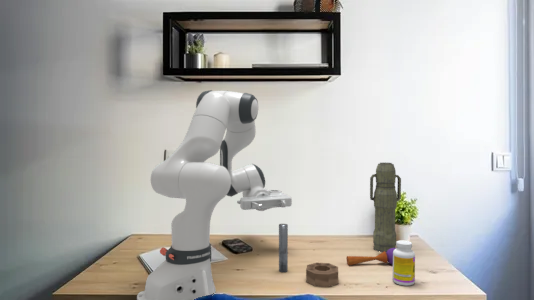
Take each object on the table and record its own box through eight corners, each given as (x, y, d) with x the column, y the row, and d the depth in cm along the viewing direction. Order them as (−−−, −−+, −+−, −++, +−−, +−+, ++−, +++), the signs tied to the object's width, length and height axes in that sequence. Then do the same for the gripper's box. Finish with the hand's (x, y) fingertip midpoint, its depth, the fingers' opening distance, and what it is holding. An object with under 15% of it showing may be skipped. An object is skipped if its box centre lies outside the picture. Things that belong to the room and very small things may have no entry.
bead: (321, 289, 116) (321, 276, 116) (300, 279, 125) (300, 266, 124) (344, 281, 122) (344, 269, 122) (322, 272, 130) (322, 260, 130)
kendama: (344, 251, 141) (398, 246, 142) (346, 268, 140) (400, 262, 141) (348, 253, 135) (404, 248, 136) (350, 270, 134) (406, 265, 135)
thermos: (403, 252, 151) (404, 163, 150) (373, 252, 151) (374, 164, 149) (395, 245, 160) (396, 162, 158) (367, 246, 160) (368, 162, 158)
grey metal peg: (282, 273, 130) (282, 226, 129) (277, 270, 132) (277, 224, 132) (289, 271, 132) (289, 225, 131) (284, 268, 134) (284, 223, 133)
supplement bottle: (416, 287, 118) (417, 246, 117) (393, 285, 119) (394, 244, 119) (412, 279, 125) (413, 239, 124) (391, 277, 126) (391, 238, 125)
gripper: (235, 193, 152) (244, 199, 139) (284, 190, 159) (297, 195, 145) (235, 209, 153) (244, 216, 139) (284, 205, 159) (297, 212, 146)
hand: (272, 206), depth 143 cm, fingers open, 8 cm apart
